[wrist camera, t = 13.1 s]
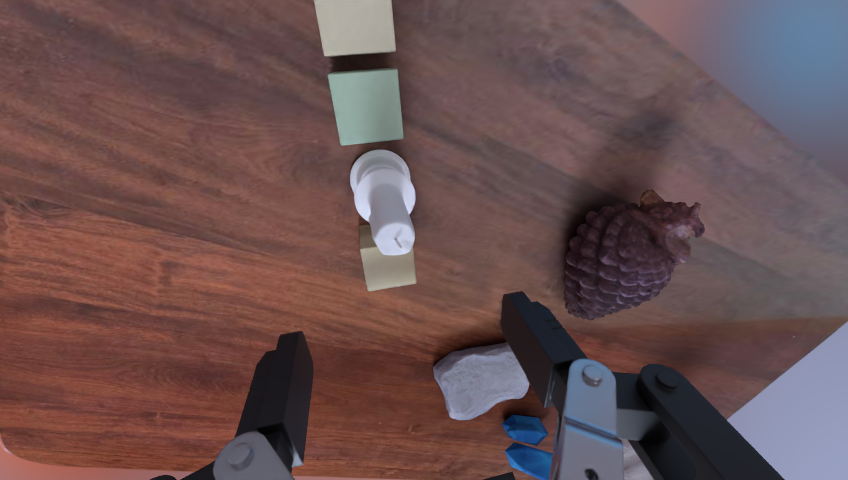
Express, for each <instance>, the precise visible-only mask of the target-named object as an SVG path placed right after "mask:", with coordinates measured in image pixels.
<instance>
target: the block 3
mask: <svg viewBox="0 0 848 480" xmlns="http://www.w3.org/2000/svg"><path fill="white" fill-rule="evenodd" d="M359 242H360V253H361V258H362V264H363V269H364V275H365V280H366V286H367V291H374V290H380V289H385V288H391V287H397V286H403V285H409V284H415V283H416V271H415V260H414V249H413V245H412V248H411V250H410V252H408V253H406V254H402V255H384V254H382V253H381V252H380V250H379V249H378V247H377V245H376V243H375V242H374V240H373V237H372V232H371V225H370V224H369V225H361V226H359Z"/></svg>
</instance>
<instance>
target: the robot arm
mask: <svg viewBox="0 0 848 480" xmlns="http://www.w3.org/2000/svg"><path fill="white" fill-rule="evenodd" d="M501 328H502V332H503V335H504V337H505V339H506V341H507V342H508V344H509V346H510V348H511V350H512V351H513V353H514V355H515V357H516V359H517V360H518V362H519V364H520V366H521V368H522V369H523V371H524V373H525V375H526V377H527V378H528V380H529V382H530V384H531V386H532V387H533V389H534V391H535V393H536V394H537V396H538V398H539V400H540V402H541V403H542V405H543V407H544V408H547V407H551V406H555V408H556V409H557V411H558V417H557V424H556V432H555V439H554V447H553V454H552V462H551V468H550V474H549V479H548V480H625V479H624V452H623V443H622V440H621V439H627V440H628V442H629V443H630V445H631V446H632V448H633V449H634V451H635V452H636V454H637V455H638V457H639V458H640V460H641V461H642V463H643V464H644V466H645V467H646V469H647V470H648V472H649V473H650V475H651V476H652V478H653V479H654V480H784V479H783V478H782V477H781V476H780V475H779V473H778V472H777V471H776V470H775V469H774V468H773V467H772V466H771V465H770V464H769V463H768V462H767V461H766V460H765V459H764V458H763V457H762V456H761V455H760V454H759V453H758V452H757V451H756V450H755V449H754V448H753V447H752V446H751V445H750V444H749V443H748V442H747V441H746V440H745V439H744V438H743V437H742V436H741V435H740V433H738V431H736V429H735V428H734V427H733V426H732V425H731V424H730V423H729V422H728V421H727V420H726V419H725V418H724V417H723V416H722V415H721V414H720V413H719V412H718V411H717V410H716V409H715V408H714V407H713V406H712V405H711V404H710V403H709V402H708V401H707V400H706V399H705V398H704V397H703V396H702V395H701V393H700V392H699V391H698V390H697V389H696V388H695V387H694V386H693V385H692V384H691V383H690V382H689V381H688V380H687V379H686V378H685V377H684V376H683V375H681V374H680V373H679V372H677V371H675V370H674V369H672V368H669V367H667V366H664V365H660V364H649V365H646V366H644V367H643V368H642V369H641V372H640V374H630V373H618V372H612V371H610V370H609V369H608V368H607V367H606V366H605V365H603V364H601V363H600V362H597V361H595V360H592V359H588V358H587V357H586V355H585V354H584V353H583V352H582V350H581V349H580V348H579V347H578V345H577V344H576V343H575V342H574V340H573V339H572V338H571V337H570V335H569V334H568V333H567V332H566V330H565V329H564V328H562V325H561V324H560V323H559V321H558V320H556V318H555V316H554V315H553V314H552V313H551V311H550V310H549V309H548V308H546V307H545V306H543V305H542V304H540V303H539V302H537V301H536V302H531V301H530V300H529V299H528V297H527V296H526V295H525V293H524V292H522V291H520V292H515V293H509V294H504V295H503V300H502V313H501ZM312 382H313V361H312V357H311V354H310V351H309V348H308V345H307V342H306V339H305V336H304V334H303V332H302V331H298V332H292V333H287V334H281V335H280V337H279V340H278V344H277V348H276V350H273V351H268V352H266V353H265V355H264V356H263V357H262V359H261V360H260V361H259V363H258V364H257V366H256V370H255V373H254V376H253V380H252V383H251V386H250V391H249V393H248V396H247V400H246V403H245V406H244V409H243V413H242V416H241V419H240V423H239V426H238V429H237V433H236V435H235V438H234V439H232V440H231V441H230V442H229V443H227V444H226V446H225V447H224V448H223V449H222V450H221V451H220V453H219V455H218V456H217V458H216V460H215V461H213V462H212V463H211V464H209V465H207V466H205V467H203V468H202V469H200V470H198V471H196V472H194V473H192V474H190V475H189V476H186V477H185V478H183V479H181V480H295V479H294V478H293V476H292V475H291V472H292V467H296V466H300V465H303V460H304V451H305V442H306V434H307V425H308V416H309V408H310V399H311V390H312ZM618 438H619V439H618ZM151 480H176V479H175V478H174V477H173V476H170V475H162V476H158V477H155V478H152V479H151ZM484 480H515V477H514V475H513V472H510V473H506V474H502V475H499V476H495V477H491V478H487V479H484Z"/></svg>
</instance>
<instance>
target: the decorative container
mask: <svg viewBox="0 0 848 480" xmlns="http://www.w3.org/2000/svg"><path fill="white" fill-rule="evenodd" d="M618 439H619V438H618ZM621 440H622V443H623V452H624V479H625V480H654V479H653V478H652V476H651V475H650V473H649V472H648V470H647V469H646V467H645V466H644V464H643V463H642V461H641V460H640V458H639V457H638V455H637V454H636V452H635V451H634V449H633V448H632V446H631V445H630V443H629V442H628V440H627V439H621Z"/></svg>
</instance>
